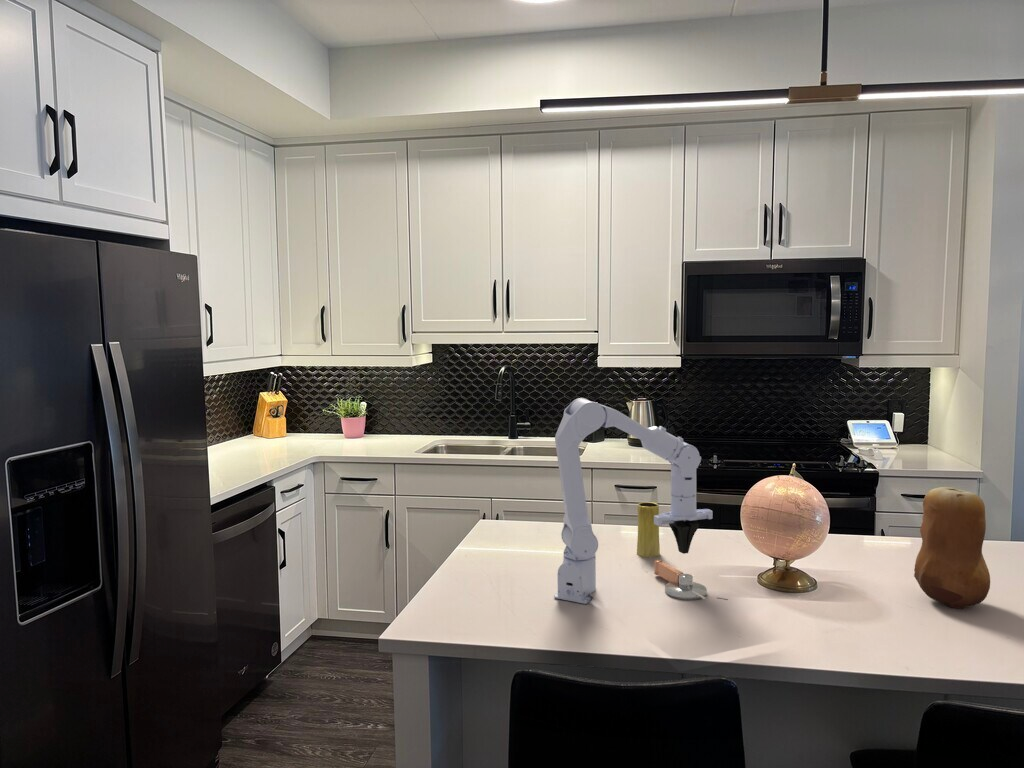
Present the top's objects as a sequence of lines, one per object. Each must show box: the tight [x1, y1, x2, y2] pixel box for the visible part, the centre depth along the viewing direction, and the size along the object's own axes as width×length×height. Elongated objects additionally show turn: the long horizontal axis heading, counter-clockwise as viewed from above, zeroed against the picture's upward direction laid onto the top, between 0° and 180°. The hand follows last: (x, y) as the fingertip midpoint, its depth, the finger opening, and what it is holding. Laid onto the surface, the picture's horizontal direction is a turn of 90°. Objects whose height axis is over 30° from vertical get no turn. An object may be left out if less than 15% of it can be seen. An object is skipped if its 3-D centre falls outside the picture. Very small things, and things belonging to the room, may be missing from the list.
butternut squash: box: [913, 486, 991, 610], centre depth 155 cm, size 14×13×25 cm
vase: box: [636, 501, 661, 558], centre depth 188 cm, size 6×6×14 cm
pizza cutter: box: [653, 559, 708, 601], centre depth 164 cm, size 19×9×4 cm, turn 21°
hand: (683, 552), depth 169 cm, fingers closed
